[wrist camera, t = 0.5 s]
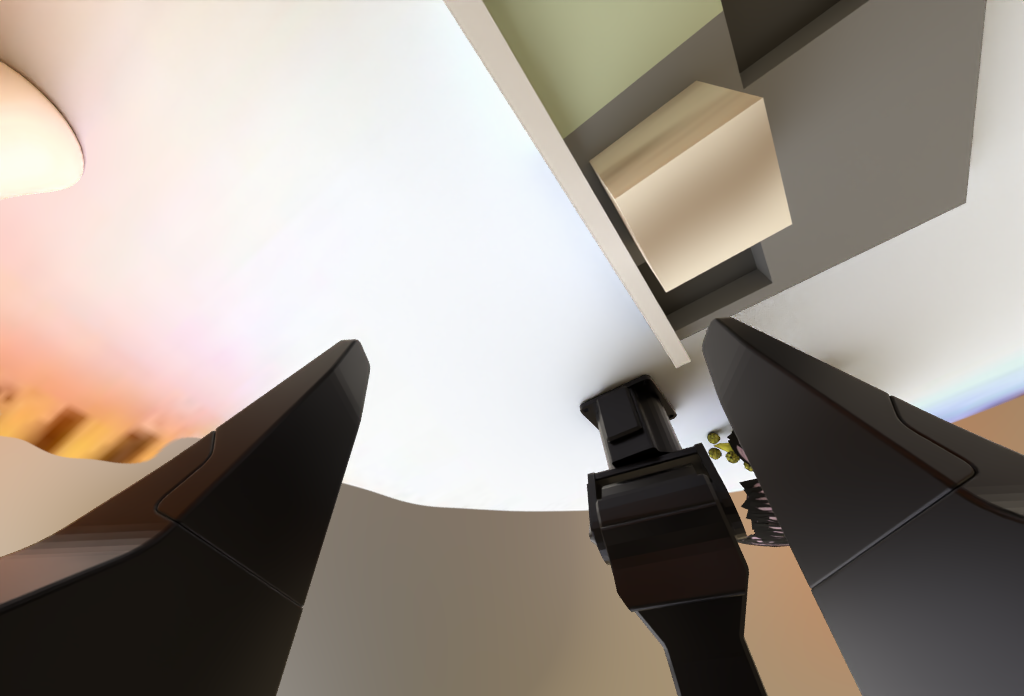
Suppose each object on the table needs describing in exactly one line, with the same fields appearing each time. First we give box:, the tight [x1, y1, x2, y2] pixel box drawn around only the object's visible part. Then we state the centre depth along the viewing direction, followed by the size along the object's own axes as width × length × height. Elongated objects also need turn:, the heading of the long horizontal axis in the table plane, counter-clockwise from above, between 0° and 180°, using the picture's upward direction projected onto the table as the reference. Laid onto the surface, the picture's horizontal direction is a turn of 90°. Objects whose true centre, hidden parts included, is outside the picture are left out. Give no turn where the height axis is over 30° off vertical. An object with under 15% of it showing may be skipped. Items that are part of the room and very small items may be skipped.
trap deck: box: [443, 0, 986, 368], centre depth 15 cm, size 22×16×4 cm
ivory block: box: [589, 81, 792, 292], centre depth 15 cm, size 5×5×5 cm
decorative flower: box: [707, 430, 789, 547], centre depth 30 cm, size 14×12×15 cm
